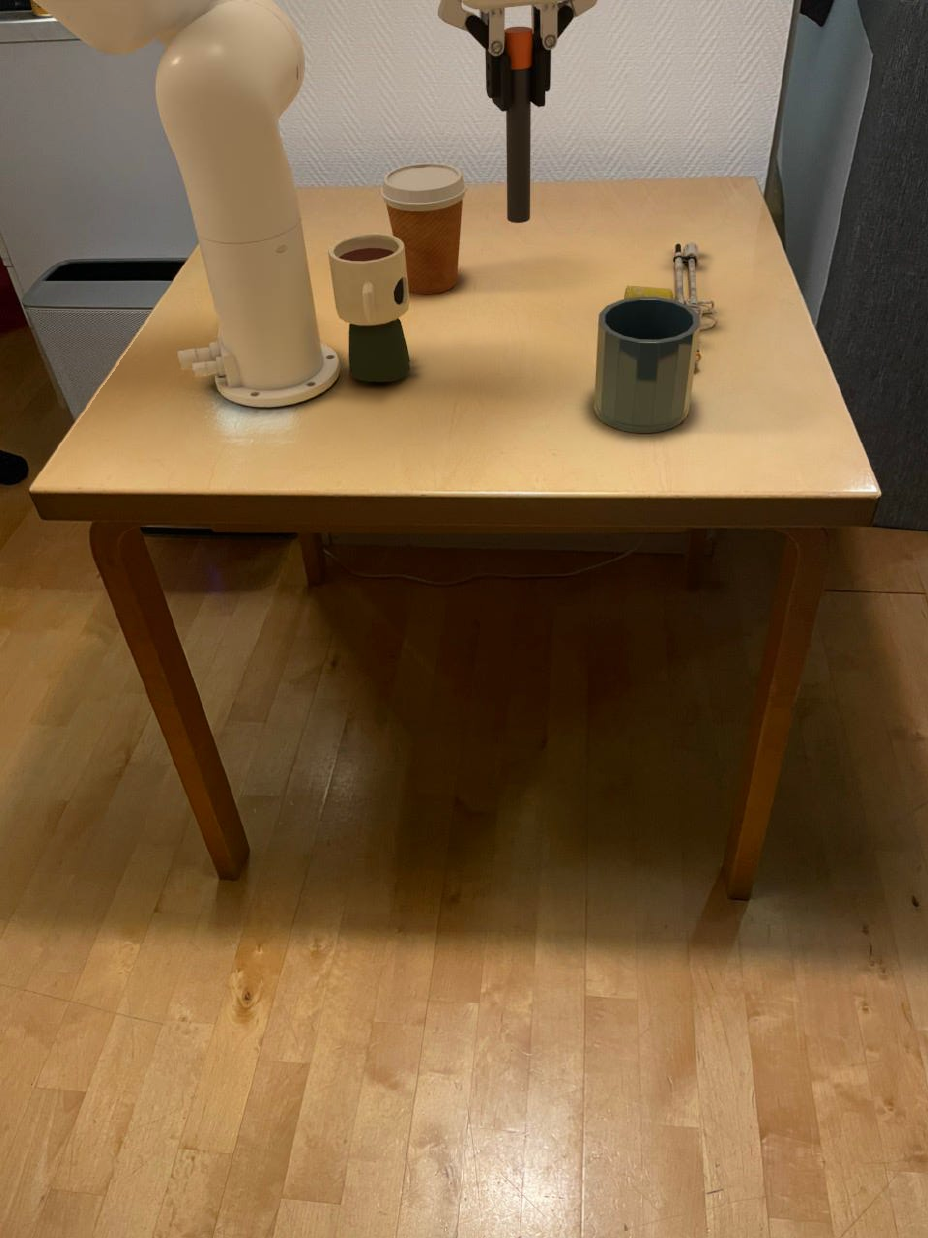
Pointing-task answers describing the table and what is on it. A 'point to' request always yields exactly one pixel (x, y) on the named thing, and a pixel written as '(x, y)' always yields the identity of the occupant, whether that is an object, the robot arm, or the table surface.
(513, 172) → the marker
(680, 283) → the flamethrower
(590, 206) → the table surface
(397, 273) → the character mug
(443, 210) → the disposable coffee cup
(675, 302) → the pencil cup
